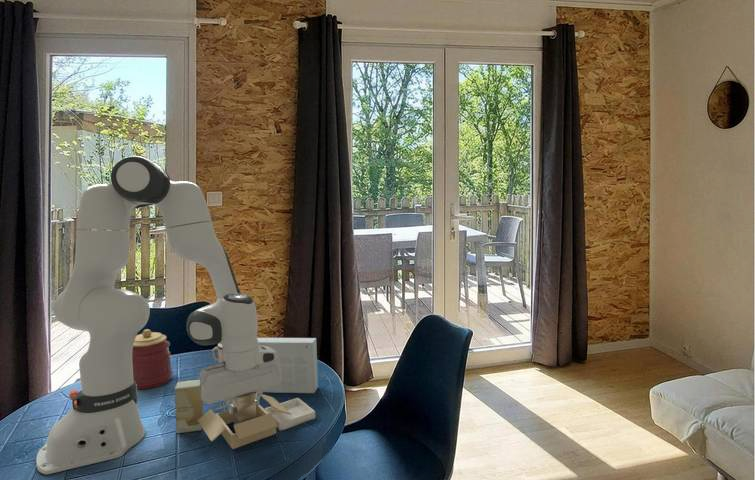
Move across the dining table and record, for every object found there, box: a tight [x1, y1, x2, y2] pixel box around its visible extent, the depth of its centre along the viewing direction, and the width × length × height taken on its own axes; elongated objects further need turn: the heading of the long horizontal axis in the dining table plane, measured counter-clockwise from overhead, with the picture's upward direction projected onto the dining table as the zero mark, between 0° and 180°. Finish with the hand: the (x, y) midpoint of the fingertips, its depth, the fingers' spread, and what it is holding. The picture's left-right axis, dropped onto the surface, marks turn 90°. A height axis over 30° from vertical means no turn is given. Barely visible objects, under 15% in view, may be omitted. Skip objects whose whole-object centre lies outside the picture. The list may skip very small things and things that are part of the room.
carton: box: [197, 393, 291, 450], centre depth 114 cm, size 20×19×6 cm
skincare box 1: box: [174, 379, 204, 434], centre depth 116 cm, size 6×4×12 cm
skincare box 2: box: [254, 337, 319, 394], centre depth 137 cm, size 21×6×16 cm, turn 84°
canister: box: [132, 328, 173, 390], centre depth 145 cm, size 13×13×18 cm
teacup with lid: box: [211, 343, 223, 363], centre depth 155 cm, size 12×9×12 cm
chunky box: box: [231, 392, 257, 431], centre depth 114 cm, size 4×4×10 cm
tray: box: [263, 397, 316, 432], centre depth 121 cm, size 10×10×2 cm
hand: (244, 409), depth 114 cm, fingers closed on chunky box, 4 cm apart
